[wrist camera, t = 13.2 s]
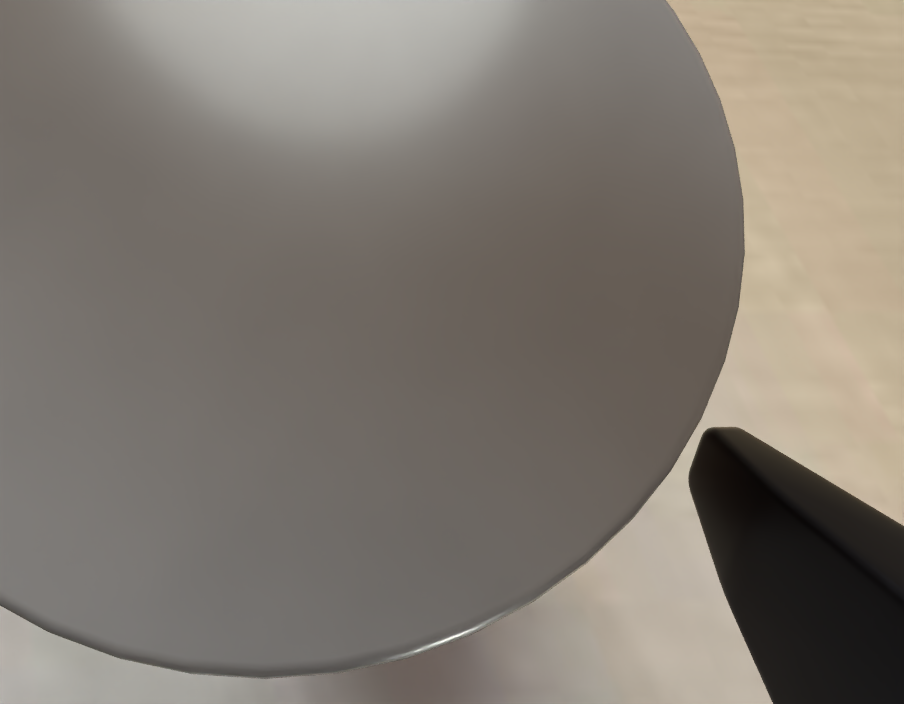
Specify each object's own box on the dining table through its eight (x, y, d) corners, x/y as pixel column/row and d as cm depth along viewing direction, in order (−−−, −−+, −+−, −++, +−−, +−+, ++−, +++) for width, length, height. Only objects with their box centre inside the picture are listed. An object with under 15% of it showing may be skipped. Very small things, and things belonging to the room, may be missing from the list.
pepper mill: (399, 576, 15) (367, 1190, 2) (233, 435, 15) (-649, 226, 2) (530, 405, 16) (1021, 128, 3) (373, 280, 16) (266, -402, 4)
